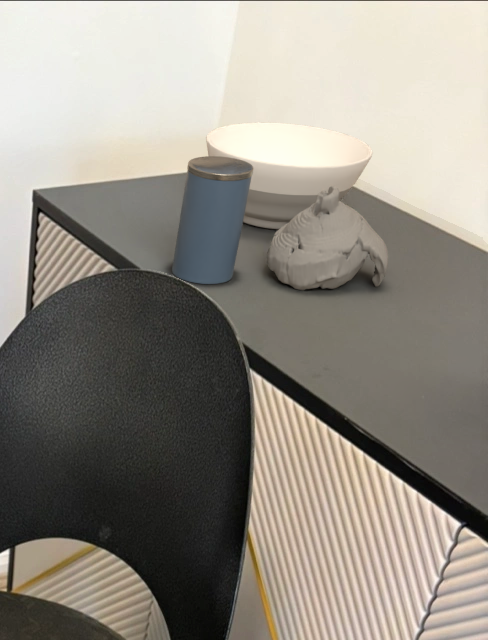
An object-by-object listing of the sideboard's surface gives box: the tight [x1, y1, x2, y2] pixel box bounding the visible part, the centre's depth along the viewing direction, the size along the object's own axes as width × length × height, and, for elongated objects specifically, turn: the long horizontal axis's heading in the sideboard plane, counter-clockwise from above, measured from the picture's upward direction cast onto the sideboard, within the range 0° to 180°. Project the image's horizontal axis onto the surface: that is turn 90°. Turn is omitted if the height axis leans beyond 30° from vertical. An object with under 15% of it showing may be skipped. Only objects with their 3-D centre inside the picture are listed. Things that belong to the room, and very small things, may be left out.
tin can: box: [171, 155, 254, 285], centre depth 118 cm, size 7×7×11 cm
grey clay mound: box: [266, 186, 389, 291], centre depth 119 cm, size 12×12×11 cm
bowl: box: [205, 121, 374, 230], centre depth 135 cm, size 19×19×8 cm
